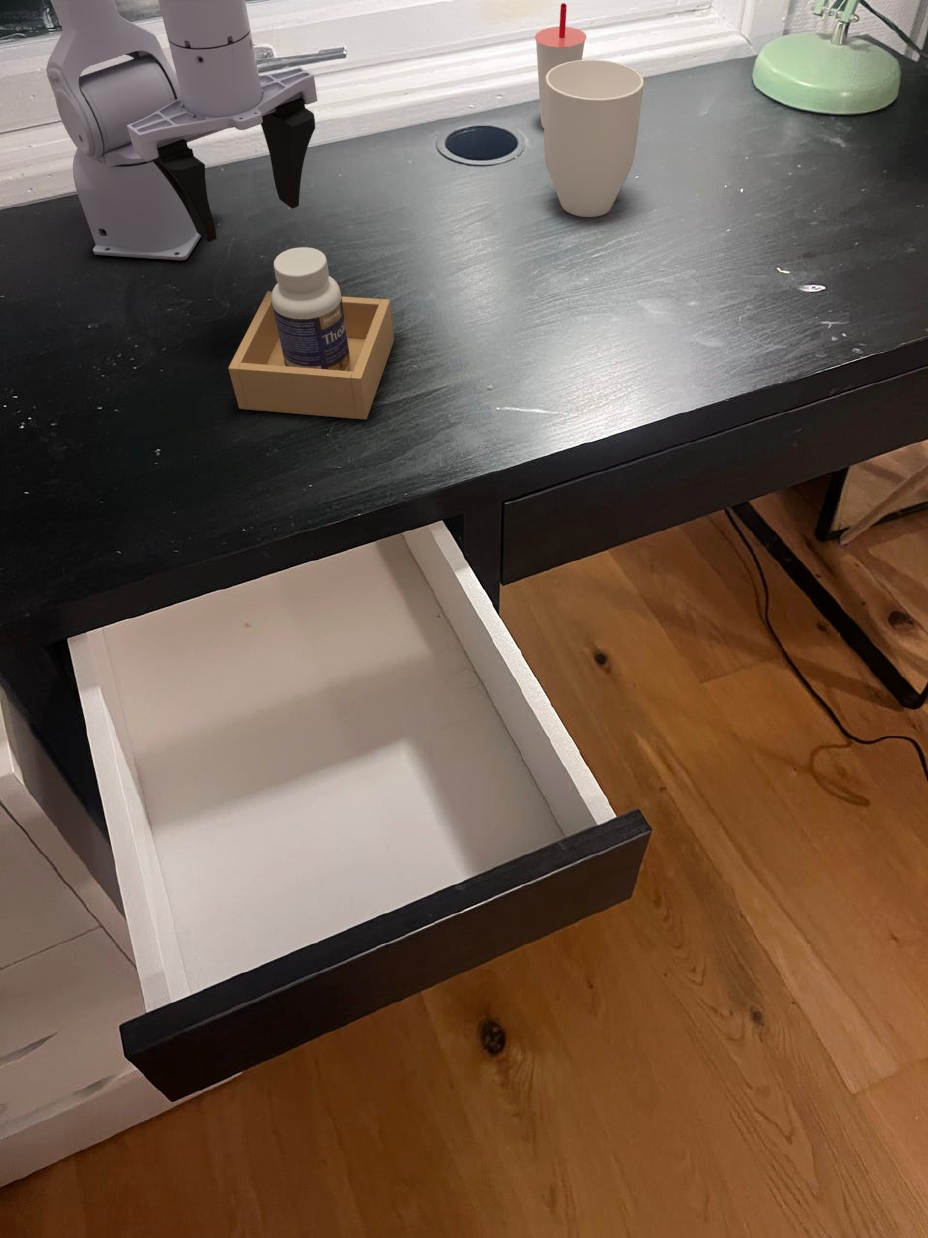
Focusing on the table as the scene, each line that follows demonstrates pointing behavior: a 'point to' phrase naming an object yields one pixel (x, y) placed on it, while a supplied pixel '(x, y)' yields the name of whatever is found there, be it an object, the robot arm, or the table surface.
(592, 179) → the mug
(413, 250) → the table surface
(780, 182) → the table surface
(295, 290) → the pill bottle
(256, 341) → the desk tray
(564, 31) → the cup
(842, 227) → the table surface
